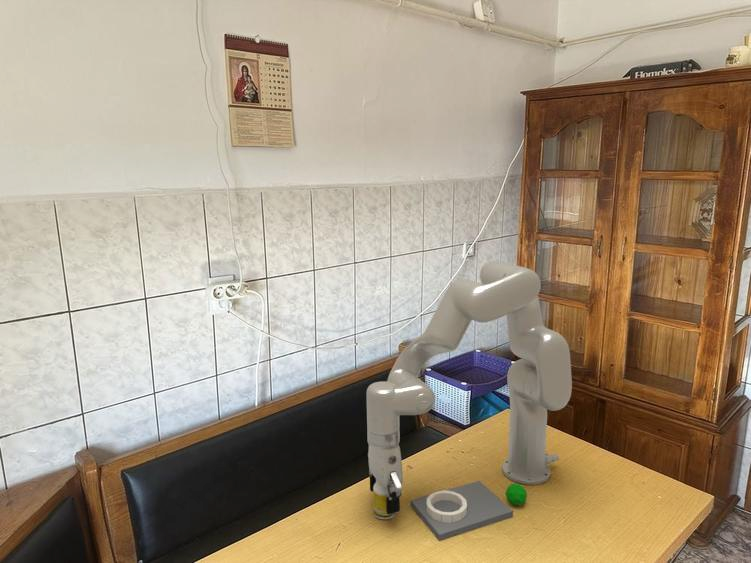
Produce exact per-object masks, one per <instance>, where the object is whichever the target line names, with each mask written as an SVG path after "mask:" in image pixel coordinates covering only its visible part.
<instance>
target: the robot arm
mask: <svg viewBox="0 0 751 563" xmlns="http://www.w3.org/2000/svg"><path fill="white" fill-rule="evenodd" d="M479 278H480V282H478V281H473V280H471V279H464V278H462V279H461V278H459V279H456V280H453V281H452V282H451V283H450V284H449V286H447V289H446V290H445V293H444V295H443V296H442V299H441V301H440V302H439V304H438V306H437V308H436V310H435V311H434V314H433V315H432V316H431V320H430V321H429V323H428V325H427V327H426V329H425V330H424V331H423V333H422V334H421V335H419V336H417V337H416V338H415V339H413V340H412V341H411V342H410V343H409V344H408V345H406V347H405V348H403V350H402V351H401V352H400V354H399V355H398V357H397V358H396V360H395V362H394V364H393V366H392V368H391V370H390V372H389V374H388V377H387V380H386V381H375V382H372V383H371V384H369V385H368V387H367V389H366V421H367V422H366V425H367V426H366V427H367V428H366V429H367V431H366V432H367V435H366V436H367V443H368V452H367V457H368V467H369V468H368V469H369V470H368V474H369V491H370V492H372V493H373V486H374V484H375V483H376V479H377V481H378V482H379V483H380V484H381V486H382V487H384V488H385V489H386V492H387V496H388V498H386V512H387V514H392V513H395V512H396V513H397V512H398V513H399V512H400V510H401V506H400V505H401V501H400V499H401V496H402V494H403V493H402V492H403V486H402V485H403V463H402V454H401V448H400V445H399V444H400V438H401V437H400V436H401V435H400V416H417V415H419V416H420V415H423V414H426V413H428V412H429V411H430V410H431V409H432V408H433V407H434V405H435V402H436V395H435V393H434V391H433V389H432V388H431V386H429V385H428V384H426V383H425V382H424V381H422V379H420V378H419V377H418V376H419V374H420V372H421V370H422V369H423V367H424V366H425V364H426V363H428V361H429V360H430V359H432V358H433V357H435V356H438V355H442V354H446V353H450V352H454V351H455V350H457V349H458V347H459V345H460V344H461V343H462V342H461V341H462V340H463V338H464V335H465V334H466V331H467V330H468V328H469V326H470V325H471V322H472V321H474V322H477V323H481V324H482V323H490V322H492V321H496V320H497V319H500V318H503V317H504V316H506V322H507V332H508V333H507V334H508V342H509V343H508V344H509V348H510V351H511V352H512V354H514V355H515V356H517V358H520V359H518V360H515V361H514V362H513V363H512V364H511V365H510V366H509V369H508V371H507V375H506V377H507V378H506V380H507V381H506V382H507V389H508V394H509V428H508V451H507V452H508V456H507V457H508V458H506V459H505V460H504V461H503V462H502V464H501V471H502V473H503V474H504V475H505V477H507V478H508V479H509V480H511V481H513V482H515V483H517V484H521V485H527V486H528V485H529V486H530V485H541V484H543V483H545V482H548V480H549V479H550V477H551V469H550V467H549V466H548V465H550V464H551V463H554V462H557V461H559V459H560V457H559V454H557V453H552V454H550V455H549V452H548V451H546V447H547V446H546V445H547V426H548V410H549V411H560V410H562V409H563V408H565V407H566V405H567V404H568V403H569V401H570V399H571V397H572V390H573V389H572V388H573V381H572V380H573V379H572V378H573V377H572V366H571V363H572V362H571V354H570V353H571V351H570V347H569V344H568V341H567V340H566V339H565V337H564V336H563V335H561V334H560V333H559V332H557V331H555V330H552V329H550V328H547V327H546V326H545V325H544V323H543V317H542V316H543V315H542V310H541V303H540V299H539V293H540V291H541V286H542V284H541V283H542V282H541V279H540V276H539V275H538V274H537V273H536V272H535V271H534V270H533V269H531V268H528V267H524V266H520V265H515V264H513V263H509V262H505V261H499V260H493V261H490V260H489V261H488V262H486V263H484V264H483V265H482V266H481V268H480V271H479ZM390 481H392V483H393V484H390V485H388V484H389V482H390ZM391 487H394V492H392V493H391V492H390V489H389V488H391ZM396 513H395V514H396Z"/></svg>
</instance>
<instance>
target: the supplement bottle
mask: <svg viewBox="0 0 751 563" xmlns="http://www.w3.org/2000/svg"><path fill="white" fill-rule="evenodd" d="M390 484H393V483H392V481H390V482H389V484H388V485H390ZM389 489H390V492H391V493H392V492H394V487H391V488H389ZM372 496H373V499H372V500H373V501H372V502H373V503H372V504H373V505H372V507H373V508H372V509H373V510H372V511H373V515H374V517H375V518H377V519H379V520H389V519H392V518H393V517H394V516H395V515H396V513H397V512H395V513H392V514H387V512H386V498H388V496H387V492H386V489H385V488H384V487H382V486H381V484H380V483H379V482H378V481H377V479H376V483H375V484H374V486H373V492H372Z"/></svg>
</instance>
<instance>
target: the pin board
mask: <svg viewBox="0 0 751 563" xmlns="http://www.w3.org/2000/svg"><path fill="white" fill-rule="evenodd" d="M410 507H411V508H412V509H413V511H414V512H415V513H416V515H418V516H419V518H420V519H421V520H422V522H424V523H425V525H426V526H427V527H428V529H429V530H430V531H431V532H432V533H433V534H434V537H436V539H437V540H439V542H440V541H442V540H446V539H450V538H451V537H454V536H455V537H456V536H458V535H461V534H465V533H467V532H470V531H473V530H476V529H479V528H483V527H485V526H489V525H491V524H495V523H498V522H500V521H504V520H507V519H510V518H513V517H514V510H513V509H512V508H510V506H508V505H507V504H506V503H505V502H504V501H503V500H502V499H501V498H499V496H497V495H496V494H495V493H494V492H492V490H490V489H489V488H488V487H487V486H486V485H485V484H484V483H483V482H482V481H481V480H475V481H473V482H469V483H465V484H463V485H458V486H456V487H452V488H448V489H444V490H438V491H434V492H432V493H430V494H427V495H424V496H420V497H417V498H414V499H410Z"/></svg>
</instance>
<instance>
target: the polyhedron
mask: <svg viewBox="0 0 751 563" xmlns="http://www.w3.org/2000/svg"><path fill="white" fill-rule="evenodd" d="M505 496H506V499H507V501H508V503H510V504H511V505H513V506H522V505H523V504H525V503H526V500H527V497H528V494H527V490H526V489H525V487H524V486H523V485H522V484H520V483H511V484H510V485H509V486H508V487H507V488H506V491H505Z"/></svg>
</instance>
